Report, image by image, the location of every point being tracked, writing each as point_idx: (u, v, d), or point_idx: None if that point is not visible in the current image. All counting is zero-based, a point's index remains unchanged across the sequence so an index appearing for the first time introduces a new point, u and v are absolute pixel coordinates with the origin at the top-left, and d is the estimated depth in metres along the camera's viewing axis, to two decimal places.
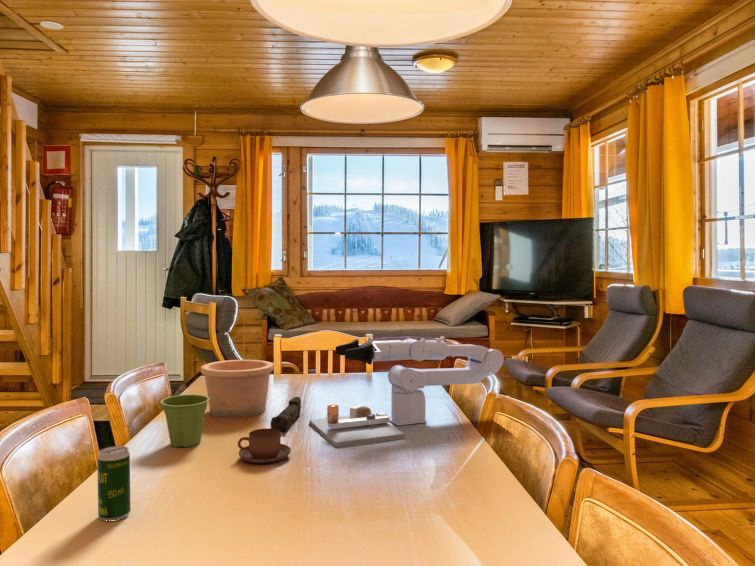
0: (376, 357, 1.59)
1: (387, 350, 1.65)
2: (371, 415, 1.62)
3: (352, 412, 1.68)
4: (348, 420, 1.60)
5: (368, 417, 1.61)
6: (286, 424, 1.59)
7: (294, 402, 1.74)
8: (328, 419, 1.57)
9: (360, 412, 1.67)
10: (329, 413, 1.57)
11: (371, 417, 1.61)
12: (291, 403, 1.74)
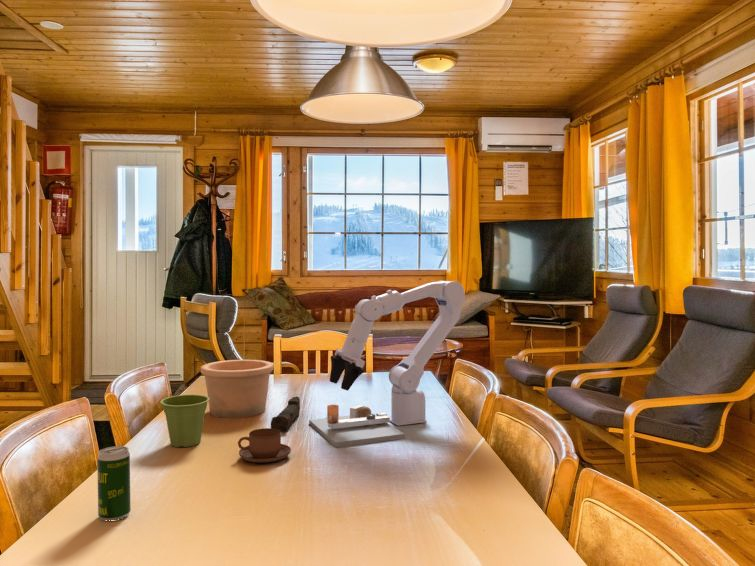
0: (362, 366, 1.59)
1: (358, 343, 1.63)
2: (371, 415, 1.62)
3: (352, 412, 1.68)
4: (348, 420, 1.60)
5: (368, 417, 1.61)
6: (286, 424, 1.59)
7: (293, 402, 1.74)
8: (328, 419, 1.57)
9: (360, 412, 1.67)
10: (329, 413, 1.57)
11: (371, 417, 1.61)
12: (290, 403, 1.74)
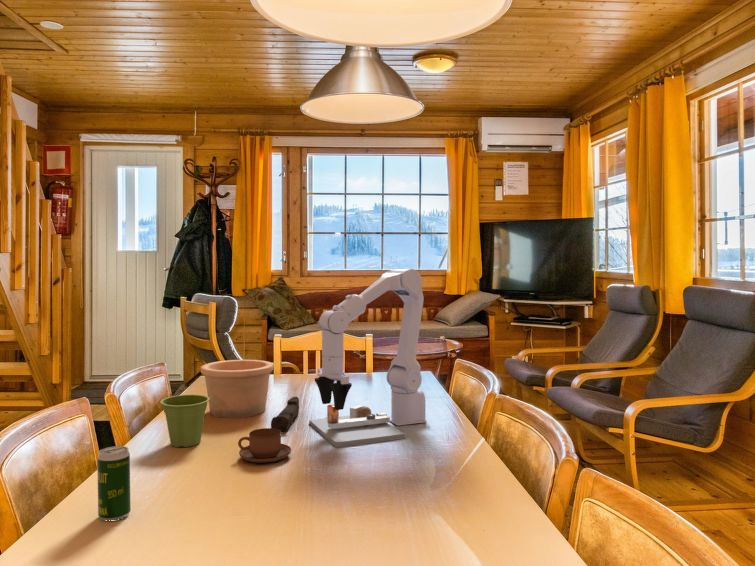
0: (347, 382, 1.52)
1: (335, 360, 1.55)
2: (371, 415, 1.62)
3: (352, 412, 1.68)
4: (348, 420, 1.60)
5: (368, 417, 1.61)
6: (287, 424, 1.59)
7: (293, 402, 1.74)
8: (328, 419, 1.57)
9: (360, 412, 1.67)
10: (329, 413, 1.57)
11: (371, 417, 1.61)
12: (290, 403, 1.74)
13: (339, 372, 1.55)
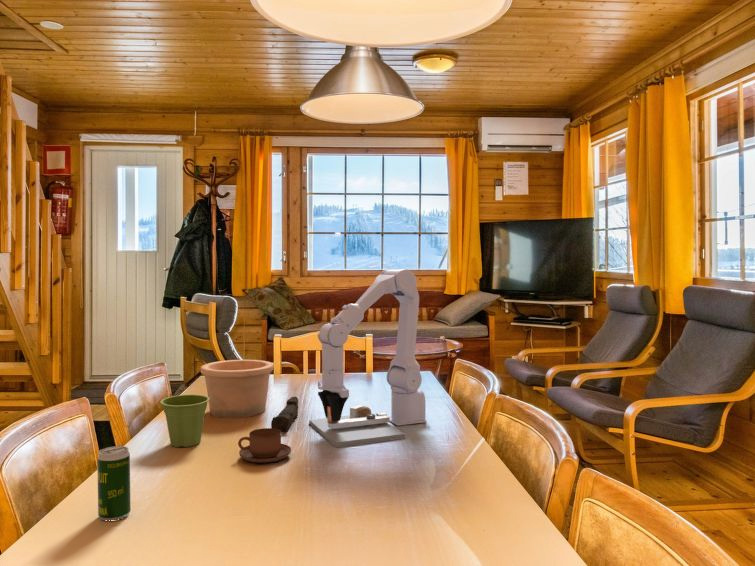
0: (347, 395, 1.52)
1: (336, 373, 1.55)
2: (371, 415, 1.62)
3: (352, 412, 1.68)
4: (348, 420, 1.60)
5: (368, 417, 1.61)
6: (287, 424, 1.59)
7: (292, 402, 1.74)
8: (328, 419, 1.57)
9: (360, 412, 1.67)
10: (329, 413, 1.57)
11: (371, 417, 1.61)
12: (289, 403, 1.74)
13: (339, 385, 1.56)
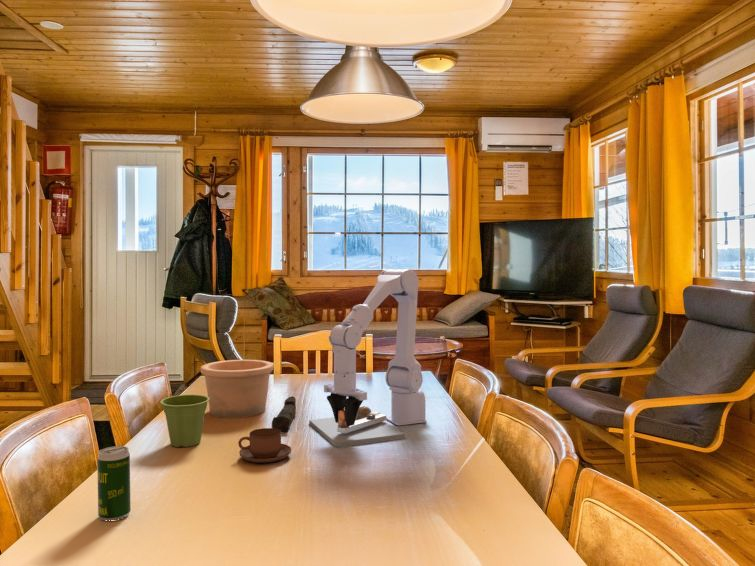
0: (365, 398, 1.48)
1: (350, 375, 1.51)
2: (371, 415, 1.62)
3: None
4: None
5: (370, 417, 1.61)
6: (288, 424, 1.59)
7: (290, 402, 1.75)
8: (341, 424, 1.52)
9: (360, 412, 1.67)
10: (342, 417, 1.52)
11: (373, 417, 1.61)
12: (287, 403, 1.74)
13: (353, 388, 1.52)
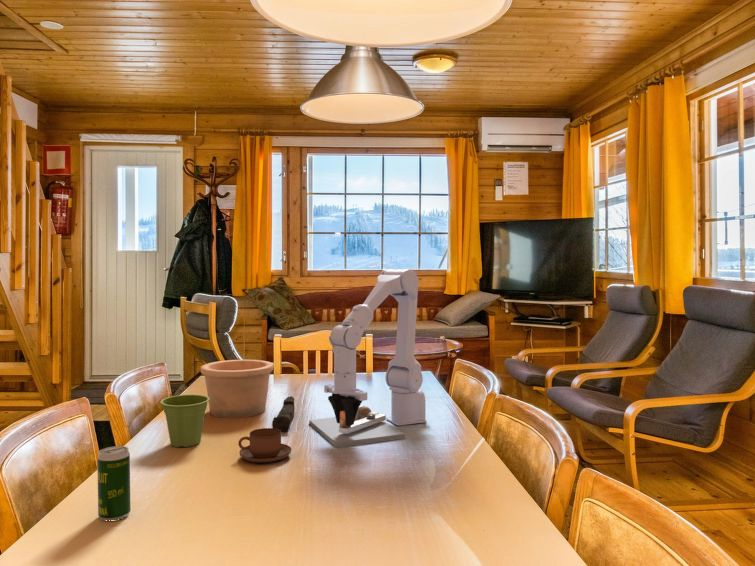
0: (366, 398, 1.49)
1: (351, 376, 1.51)
2: (371, 415, 1.62)
3: None
4: (354, 422, 1.57)
5: (370, 417, 1.61)
6: (288, 424, 1.60)
7: (289, 402, 1.75)
8: (343, 424, 1.52)
9: (360, 412, 1.67)
10: (344, 418, 1.52)
11: (373, 417, 1.61)
12: (286, 403, 1.74)
13: (354, 388, 1.52)
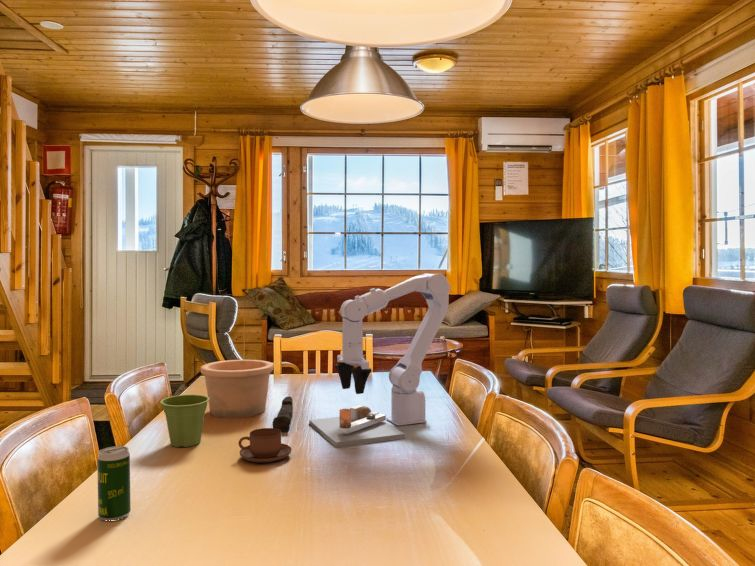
0: (367, 367, 1.60)
1: (356, 346, 1.63)
2: (371, 415, 1.62)
3: (352, 412, 1.68)
4: (354, 422, 1.57)
5: (370, 417, 1.61)
6: (289, 424, 1.60)
7: (288, 402, 1.75)
8: (343, 424, 1.52)
9: (360, 412, 1.67)
10: (344, 418, 1.52)
11: (373, 417, 1.61)
12: (285, 403, 1.74)
13: (359, 358, 1.63)
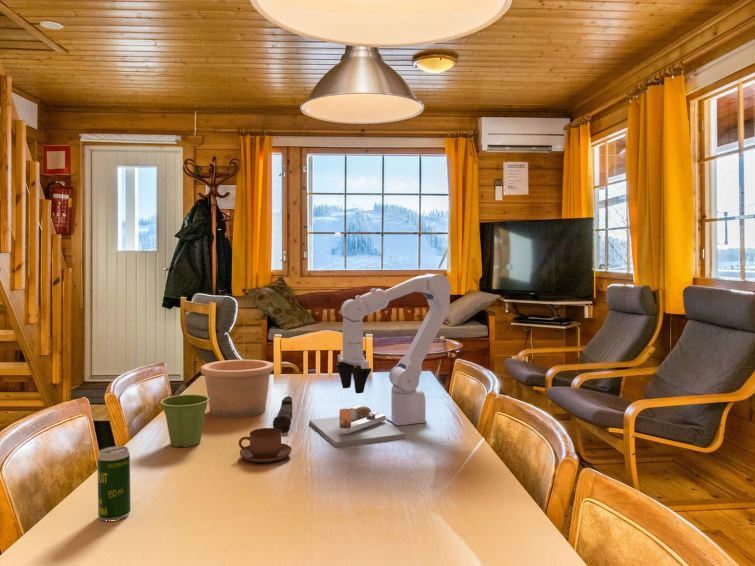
0: (367, 366, 1.60)
1: (356, 346, 1.63)
2: (371, 415, 1.62)
3: (352, 412, 1.68)
4: (354, 422, 1.57)
5: (370, 417, 1.61)
6: (289, 423, 1.60)
7: (288, 402, 1.75)
8: (343, 424, 1.52)
9: (360, 412, 1.67)
10: (344, 418, 1.52)
11: (373, 417, 1.61)
12: (285, 403, 1.74)
13: (359, 357, 1.64)
